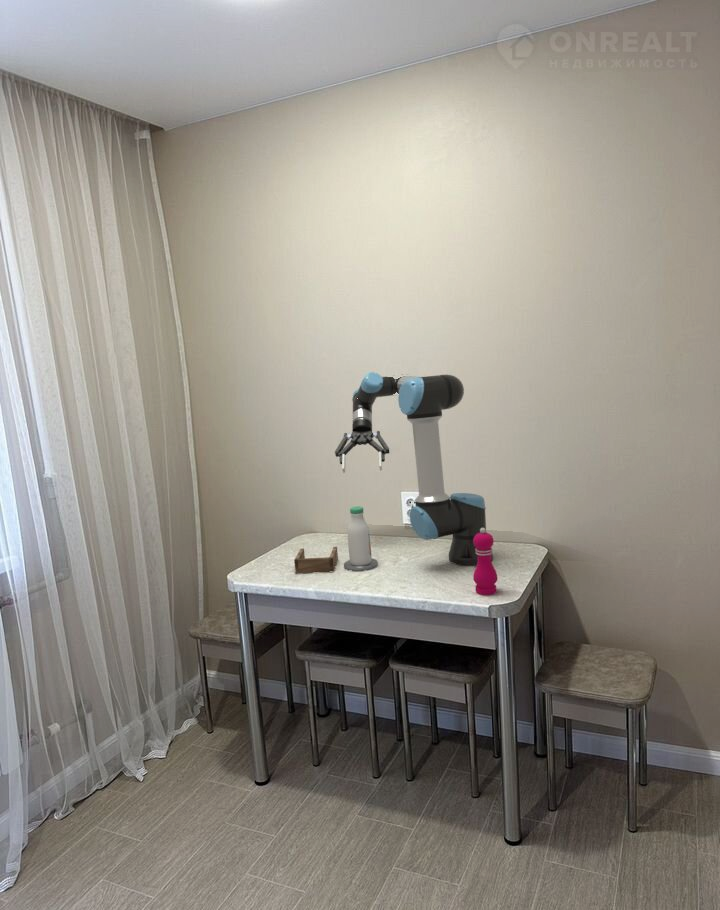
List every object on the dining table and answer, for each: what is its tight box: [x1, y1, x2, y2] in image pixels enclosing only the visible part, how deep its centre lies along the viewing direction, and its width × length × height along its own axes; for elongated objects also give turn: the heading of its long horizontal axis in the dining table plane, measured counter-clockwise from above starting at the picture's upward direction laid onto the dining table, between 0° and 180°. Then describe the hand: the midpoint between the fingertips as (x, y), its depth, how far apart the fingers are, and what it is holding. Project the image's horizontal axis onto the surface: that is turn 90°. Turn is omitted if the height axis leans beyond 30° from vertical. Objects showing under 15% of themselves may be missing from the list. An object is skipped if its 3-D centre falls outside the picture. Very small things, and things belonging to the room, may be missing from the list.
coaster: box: [343, 557, 379, 572], centre depth 248 cm, size 12×12×1 cm
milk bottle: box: [347, 506, 373, 566], centre depth 246 cm, size 8×8×20 cm
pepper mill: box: [473, 528, 498, 596], centre depth 212 cm, size 7×7×20 cm
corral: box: [293, 546, 339, 574], centre depth 250 cm, size 13×13×5 cm
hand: (362, 469), depth 257 cm, fingers open, 13 cm apart
